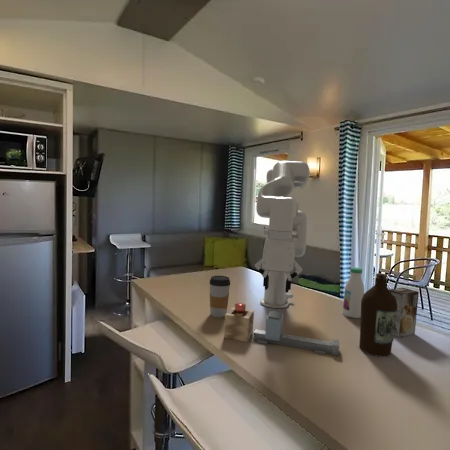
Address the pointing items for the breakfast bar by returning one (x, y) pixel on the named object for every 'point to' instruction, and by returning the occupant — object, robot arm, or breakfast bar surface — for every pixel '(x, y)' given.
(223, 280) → the coffee cup
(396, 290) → the coffee box
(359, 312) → the milk bottle
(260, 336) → the guide rail
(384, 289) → the olive oil
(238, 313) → the button
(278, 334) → the carriage
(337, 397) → the breakfast bar surface
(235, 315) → the small open wooden box
